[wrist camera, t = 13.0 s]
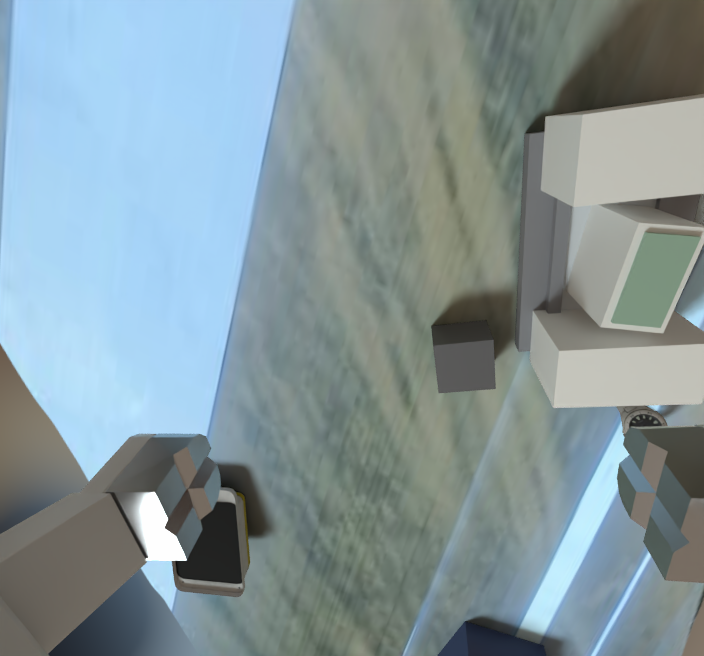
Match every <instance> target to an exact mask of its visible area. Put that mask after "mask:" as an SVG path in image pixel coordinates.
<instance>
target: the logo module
mask: <svg viewBox="0 0 704 656" xmlns="http://www.w3.org/2000/svg"><path fill="white" fill-rule="evenodd" d="M703 244H704V226H703V225H700V224H697V223H695V222H692V221H689V220H686V219H683V218H680V217H678V216H675V215H672V214H669V213H666V212H663V211H660V210H658V209H655V208H652V207H649V206H635V205H621V204H599V205H592V206H591V209H590V212H589V215H588V219H587V222H586V225H585V228H584V231H583V235H582V238H581V241H580V244H579V247H578V251H577V254H576V257H575V260H574V264H573V267H572V270H571V273H570V276H569V280H568V283H567V286H566V289H565V290H566V291H567V292H568V293H569V294H570V295H571V296H572V297H573V298H574V299H575V301H576V302H577V303H578V304H579V305H580V306H581V307H582V308H583V309H584V310H585V311H586V312H587V313H588V315H589V316H590V317H591V318H592V319H593V320H594V321H595V322H596V323H597V324H598V325H599V326H600V327H603V328H613V329H623V330H633V331H643V332H653V333H664V331H665V328H666V326H667V324H668V322H669V320H670V317H671V315H672V313H673V311H674V309H675V306H676V304H677V302H678V300H679V297H680V295H681V293H682V291H683V289H684V286H685V284H686V282H687V280H688V278H689V275H690V273H691V271H692V269H693V267H694V264H695V262H696V260H697V258H698V255H699V253H700V251H701V249H702V247H703Z"/></svg>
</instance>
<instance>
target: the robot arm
mask: <svg viewBox="0 0 704 656" xmlns="http://www.w3.org/2000/svg"><path fill="white" fill-rule="evenodd" d="M623 445H624V447H625V448H626V450H627V451H628V453H629V454H630V455H629V456H628V457H627V458H625V459H624V460H623V461H622V462H621V463H619V469H618V476H617V480H618V488H619V494H620V497H621V500H622V503H623V505H624V507H625V509H626V511H627V513H628V515H629V517H630V518H631V519H632V520H633V521H635V522H636V523H638V524H639V525H640V526H642V527H643V528H645V529H646V533H645V537H644V541H643V542H644V544H645V545H646V547H647V549H648V551H649V553H650V554H651V556H652V558H653V560H654V561H655V563H656V565H657V567H658V568H659V570H660V572H661V574H662V576H663V577H664V579H665V580H668V581H683V582H698V583H704V425H695V426H653V427H630V428H629V429H628V431H627V432H626V434H625V439H624V443H623ZM210 450H211V447H210V445H209V442H208V440H207V438H206V436H203V435H201V434H136V435H134V436H132V437H130V438H129V439H128V440H127V441H126V442H125V443H124V444H123V445H122V446H121V447H120V449H119V450H118V451H117V452H116V453H115V454H114V455H113V456H112V457H111V458H110V460H109V461H108V462H107V463H106V464H105V465H104V466H103V467H102V468H101V469H100V471H99V472H98V473H97V474H96V475H95V476H94V477H93V478H92V479H91V480H90V482H89V483H88V484H87V485H86V486H85V487H84V488H83V489H82V490H81V492H80V493H71V494H70V495H68V496H66V497H64V498H63V499H61V500H60V501H58V502H56V503H54V504H52V505H50V506H49V507H47V508H46V509H44V510H42V511H40V512H38V513H37V514H35V515H33V516H31V517H30V518H28V519H26V520H24V521H23V522H21V523H19V524H18V525H16V526H14V527H12V528H11V529H9V530H8V531H6V532H4V533H2V534H0V656H49V655H48V653H49V652H50V651H51V650H52V649H53V648H54V647H55V646H56V645H57V644H59V643H60V642H61V641H62V640H63V639H64V638H65V637H66V636H67V635H68V634H70V633H71V632H72V631H73V630H74V629H75V628H76V627H77V626H78V625H79V624H80V623H81V622H83V621H84V620H85V619H86V618H87V617H88V616H89V615H90V614H91V613H92V612H93V611H94V610H95V609H97V608H98V607H99V606H100V605H101V604H102V603H103V602H104V601H105V600H106V599H107V598H109V597H110V596H111V595H112V594H113V593H114V592H115V591H116V590H117V589H118V588H119V587H120V586H121V585H122V584H124V583H125V582H126V581H127V580H128V579H129V578H130V577H131V576H132V575H133V574H135V573H136V572H137V571H138V570H139V569H140V568H141V567H142V566H143V565H144V564H145V563H146V562H147V561H146V560H187V558H188V556H189V554H190V553H191V551H192V549H193V547H194V545H195V543H196V541H197V539H198V537H199V535H200V533H201V531H202V530H203V529H202V525H201V519H202V518H203V517H205V516H206V515H207V514H208V513H210V512H211V511H212V510H213V508H214V506H215V504H216V502H217V500H218V497H219V491H220V486H221V479H220V472H219V469H218V466H217V464H216V463H215V462H213V461H212V460H211V459H210V458H209V457H207V456H208V454H209V452H210Z"/></svg>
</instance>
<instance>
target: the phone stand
mask: <svg viewBox="0 0 704 656" xmlns="http://www.w3.org/2000/svg"><path fill="white" fill-rule="evenodd" d="M438 656H546V654H545V650H544V646H543V645H540V644H536V643H533V642H530V641H527V640H524V639H520V638H517V637H514V636H511V635H507V634H504V633H501V632H498V631H495V630H491V629H488V628H485V627H482V626H478V625H475V624H472V623H469V622H466V621H465V622H464V623H463V624H462V626H461V627H460V628H459V629H458V631H457V632H456V633H455V634H454V636H453V637H452V638H451V639H450V641H449V642H448V643H447V644H446V646H445V647H444V648H443V649H442V651H441V652H440V653H439V654H438Z"/></svg>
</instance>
